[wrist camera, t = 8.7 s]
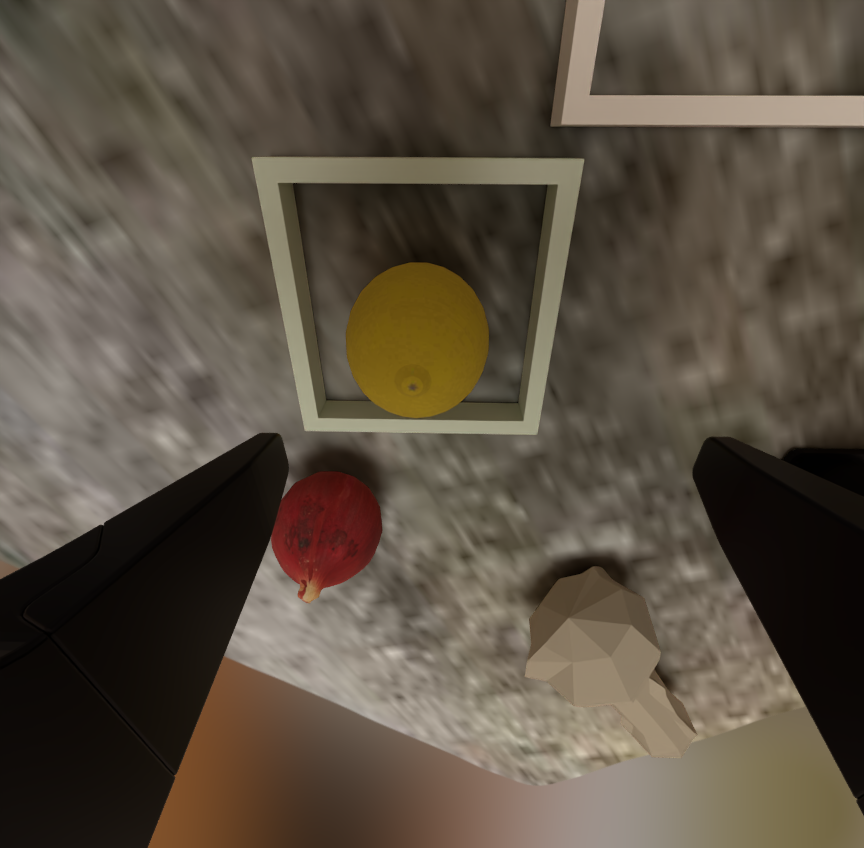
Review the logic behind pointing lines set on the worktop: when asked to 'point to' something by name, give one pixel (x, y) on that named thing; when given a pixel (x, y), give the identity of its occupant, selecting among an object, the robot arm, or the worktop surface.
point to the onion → (326, 531)
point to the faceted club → (607, 658)
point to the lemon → (417, 340)
